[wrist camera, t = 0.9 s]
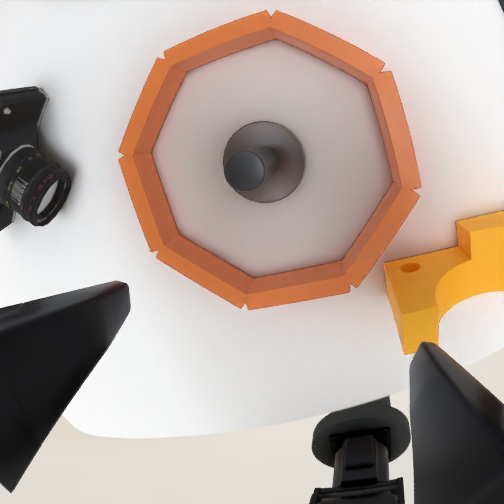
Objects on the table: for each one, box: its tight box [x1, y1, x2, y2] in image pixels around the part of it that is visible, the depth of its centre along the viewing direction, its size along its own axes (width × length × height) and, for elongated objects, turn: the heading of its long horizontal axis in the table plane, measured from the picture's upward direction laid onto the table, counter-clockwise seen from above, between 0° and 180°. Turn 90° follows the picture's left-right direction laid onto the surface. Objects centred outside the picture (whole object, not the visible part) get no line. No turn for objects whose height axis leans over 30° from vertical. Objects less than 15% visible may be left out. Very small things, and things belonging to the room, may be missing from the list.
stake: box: [223, 121, 306, 203], centre depth 17 cm, size 5×5×5 cm
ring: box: [118, 10, 421, 310], centre depth 18 cm, size 17×17×2 cm
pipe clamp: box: [383, 210, 504, 355], centre depth 15 cm, size 12×4×6 cm, turn 108°
